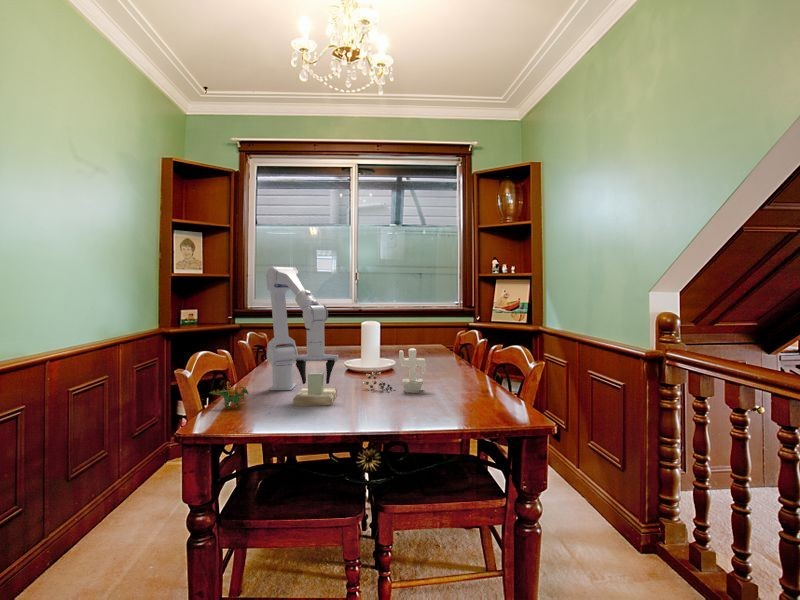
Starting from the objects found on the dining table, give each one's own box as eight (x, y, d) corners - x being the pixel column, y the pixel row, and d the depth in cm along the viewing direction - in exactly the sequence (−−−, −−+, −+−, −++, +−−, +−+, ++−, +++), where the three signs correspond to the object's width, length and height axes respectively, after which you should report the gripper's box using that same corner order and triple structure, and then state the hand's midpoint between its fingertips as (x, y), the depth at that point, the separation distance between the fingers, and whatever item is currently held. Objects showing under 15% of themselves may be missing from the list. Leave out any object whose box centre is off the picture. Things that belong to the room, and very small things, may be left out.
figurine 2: (426, 393, 156) (426, 350, 155) (398, 393, 156) (398, 350, 156) (425, 388, 163) (425, 347, 162) (399, 388, 163) (399, 347, 163)
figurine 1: (247, 409, 137) (246, 382, 137) (207, 409, 137) (207, 382, 137) (250, 406, 140) (250, 380, 140) (211, 406, 140) (211, 380, 140)
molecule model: (388, 400, 156) (397, 378, 157) (358, 385, 159) (368, 365, 160) (391, 401, 162) (401, 380, 163) (363, 387, 165) (372, 367, 166)
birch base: (302, 394, 155) (301, 387, 155) (337, 394, 155) (337, 387, 155) (293, 405, 141) (292, 397, 141) (331, 405, 141) (331, 397, 141)
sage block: (310, 390, 150) (310, 372, 150) (323, 390, 150) (323, 372, 150) (307, 394, 145) (307, 375, 145) (321, 394, 145) (321, 375, 145)
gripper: (290, 343, 143) (290, 386, 144) (336, 343, 143) (336, 385, 144) (295, 340, 150) (295, 381, 151) (339, 340, 150) (339, 381, 151)
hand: (316, 383), depth 148 cm, fingers open, 7 cm apart
